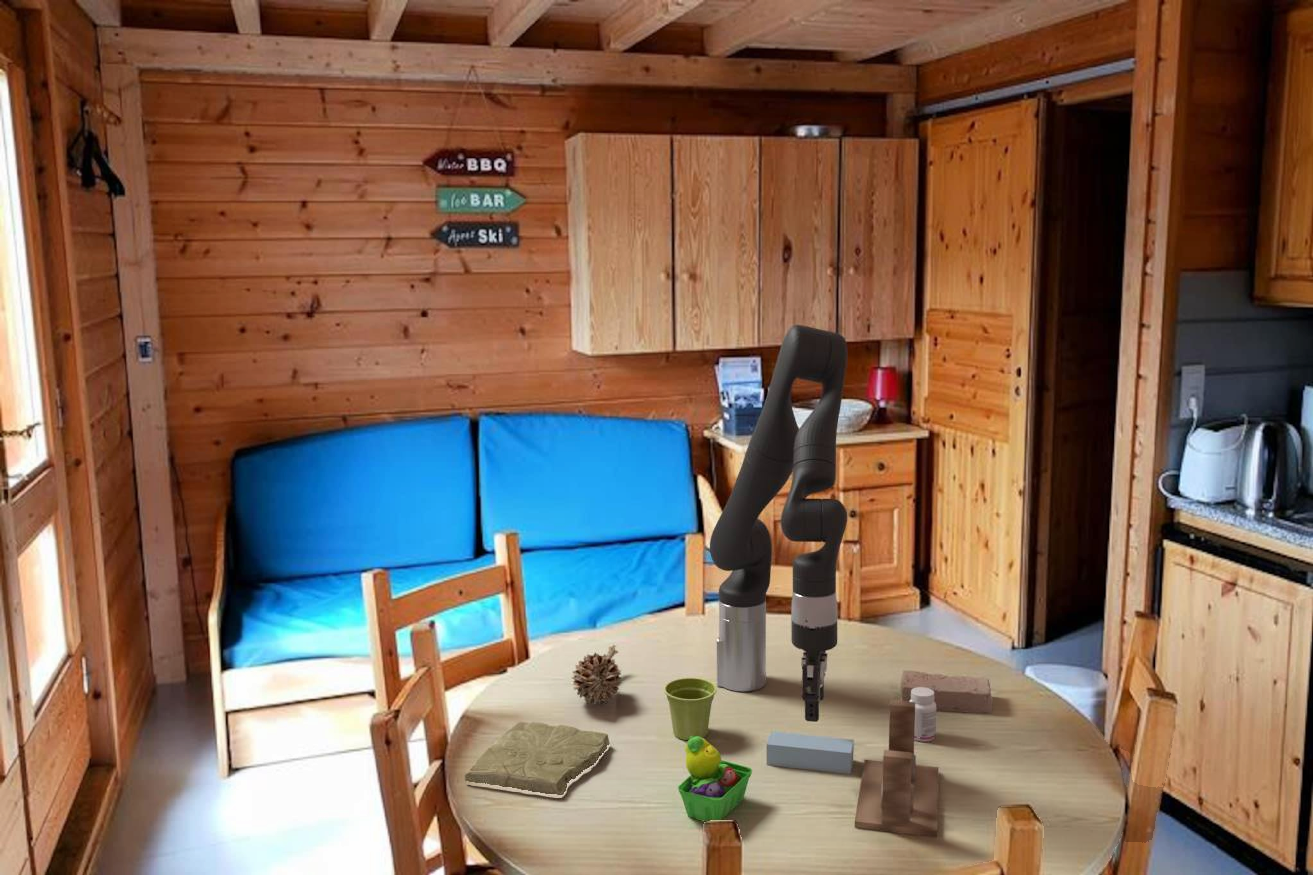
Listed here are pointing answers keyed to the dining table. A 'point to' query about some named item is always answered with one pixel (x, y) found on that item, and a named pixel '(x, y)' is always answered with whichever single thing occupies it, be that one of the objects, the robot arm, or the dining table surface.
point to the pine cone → (597, 677)
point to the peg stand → (899, 783)
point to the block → (810, 752)
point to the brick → (950, 691)
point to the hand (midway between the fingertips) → (814, 709)
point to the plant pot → (690, 706)
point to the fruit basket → (711, 782)
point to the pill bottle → (924, 713)
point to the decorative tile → (538, 757)
